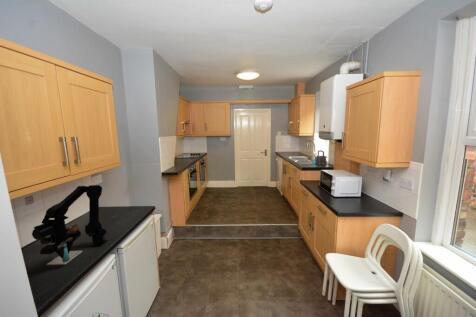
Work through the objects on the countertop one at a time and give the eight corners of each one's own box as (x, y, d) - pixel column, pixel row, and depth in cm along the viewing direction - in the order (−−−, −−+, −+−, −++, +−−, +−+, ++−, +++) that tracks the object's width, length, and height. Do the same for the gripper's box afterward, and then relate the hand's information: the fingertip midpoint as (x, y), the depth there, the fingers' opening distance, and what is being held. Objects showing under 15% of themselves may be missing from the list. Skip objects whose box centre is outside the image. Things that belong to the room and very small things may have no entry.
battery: (80, 235, 145) (77, 222, 144) (75, 240, 139) (72, 227, 137) (73, 236, 144) (70, 223, 143) (68, 241, 138) (65, 228, 136)
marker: (66, 258, 113) (62, 242, 111) (71, 258, 112) (67, 242, 111) (60, 262, 109) (57, 246, 108) (66, 262, 109) (62, 245, 108)
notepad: (66, 252, 125) (65, 251, 125) (82, 251, 124) (82, 250, 124) (46, 265, 113) (46, 264, 113) (64, 264, 113) (64, 263, 112)
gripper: (61, 222, 118) (66, 246, 120) (26, 239, 99) (33, 267, 102) (79, 221, 117) (84, 245, 119) (47, 239, 99) (54, 267, 101)
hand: (65, 255), depth 110 cm, fingers closed on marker, 3 cm apart
